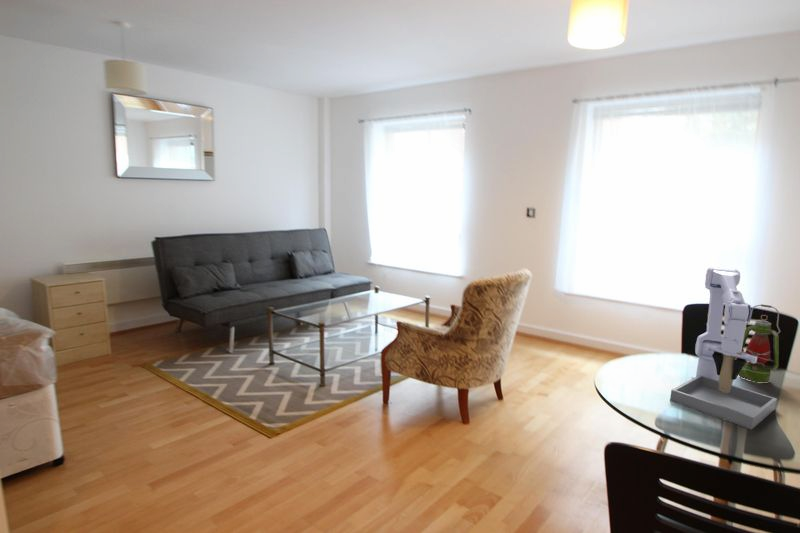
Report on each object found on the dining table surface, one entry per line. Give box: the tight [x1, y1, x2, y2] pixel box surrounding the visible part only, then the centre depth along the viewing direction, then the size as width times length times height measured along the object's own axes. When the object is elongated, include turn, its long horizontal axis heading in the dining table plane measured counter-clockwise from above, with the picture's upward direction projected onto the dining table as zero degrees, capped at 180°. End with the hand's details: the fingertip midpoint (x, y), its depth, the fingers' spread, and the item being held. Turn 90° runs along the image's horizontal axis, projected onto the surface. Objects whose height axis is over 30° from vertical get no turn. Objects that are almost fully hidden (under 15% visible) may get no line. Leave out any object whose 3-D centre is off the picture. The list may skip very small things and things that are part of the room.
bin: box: [669, 375, 778, 430], centre depth 164 cm, size 24×24×4 cm
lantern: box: [735, 303, 781, 382], centre depth 187 cm, size 14×11×30 cm
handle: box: [719, 347, 742, 393], centre depth 163 cm, size 5×6×15 cm
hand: (726, 376), depth 163 cm, fingers closed on handle, 4 cm apart
